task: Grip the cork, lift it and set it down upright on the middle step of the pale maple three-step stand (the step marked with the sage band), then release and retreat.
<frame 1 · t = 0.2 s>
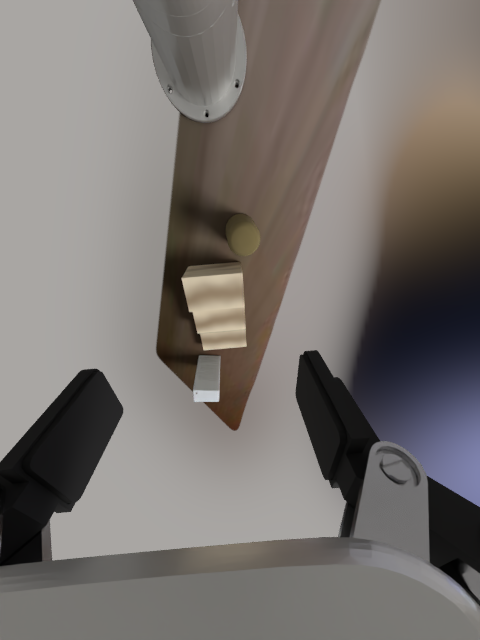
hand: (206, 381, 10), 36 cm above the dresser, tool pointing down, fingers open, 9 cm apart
step stand: (220, 307, 48), on the dresser
cork: (240, 230, 39), on the dresser
skincare box: (210, 360, 56), on the dresser
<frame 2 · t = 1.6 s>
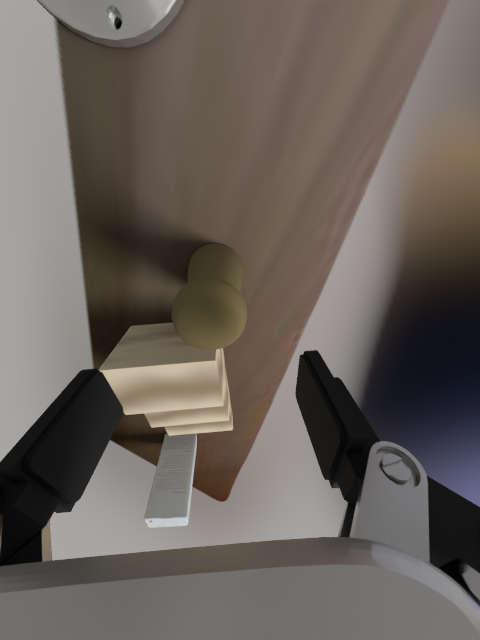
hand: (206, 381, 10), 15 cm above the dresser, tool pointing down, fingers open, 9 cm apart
step stand: (191, 379, 31), on the dresser
cork: (216, 271, 22), on the dresser
skincare box: (182, 437, 39), on the dresser
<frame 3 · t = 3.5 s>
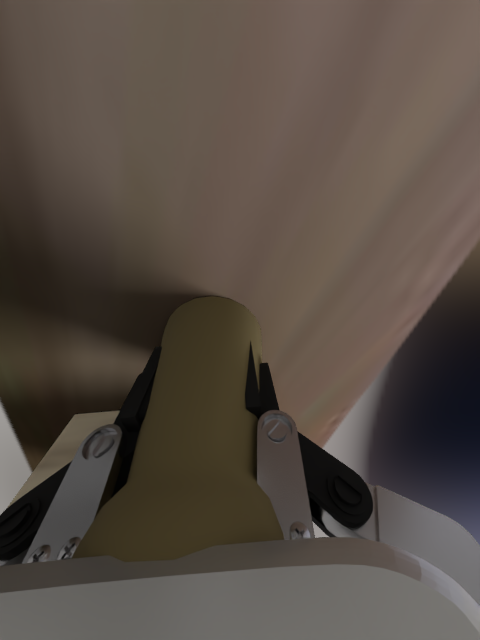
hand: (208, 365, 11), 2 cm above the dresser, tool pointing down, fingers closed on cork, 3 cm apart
step stand: (176, 470, 21), on the dresser
cork: (214, 338, 13), on the dresser, touching gripper
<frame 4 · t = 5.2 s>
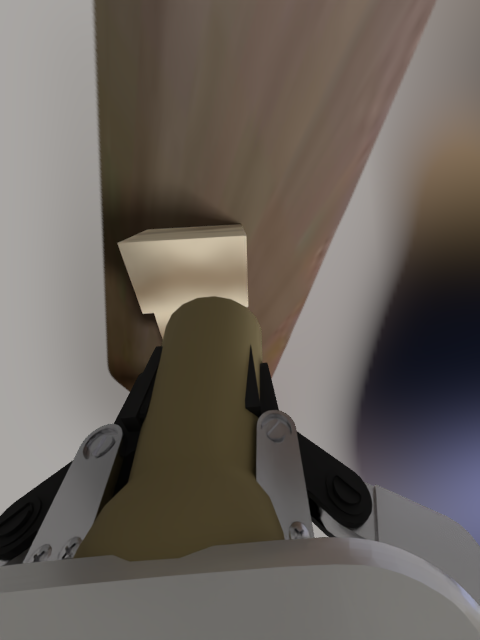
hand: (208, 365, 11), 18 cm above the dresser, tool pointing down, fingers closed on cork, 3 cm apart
step stand: (206, 305, 29), on the dresser
cork: (214, 338, 13), point 16 cm above the dresser, touching gripper
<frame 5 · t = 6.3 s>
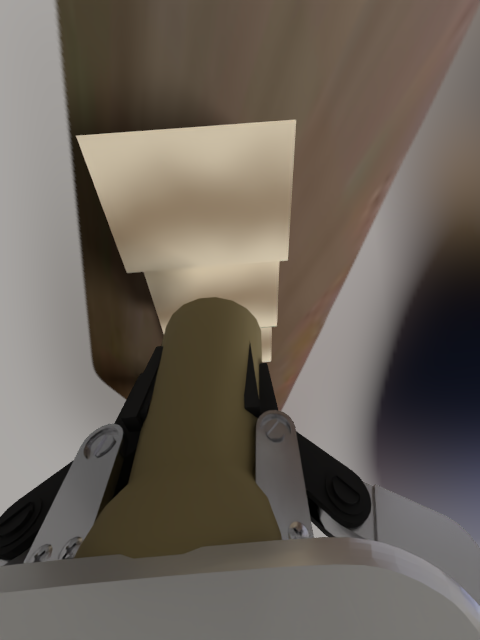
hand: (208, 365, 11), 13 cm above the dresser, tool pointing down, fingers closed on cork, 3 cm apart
step stand: (218, 278, 22), on the dresser
cork: (214, 338, 13), point 11 cm above the dresser, touching gripper
when the fingers open (9 cm above the dresser, at t = 7.2 s): cork drops 1 cm, resting on step stand.
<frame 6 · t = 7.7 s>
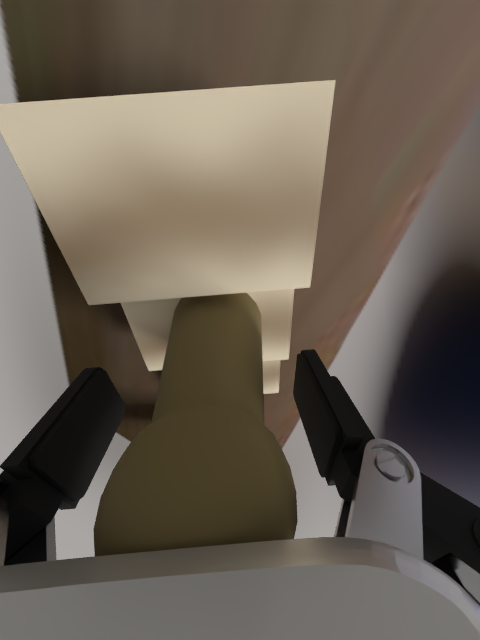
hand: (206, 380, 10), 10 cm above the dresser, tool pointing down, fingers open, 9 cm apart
step stand: (216, 297, 18), on the dresser
cork: (218, 323, 14), point 5 cm above the dresser, touching step stand
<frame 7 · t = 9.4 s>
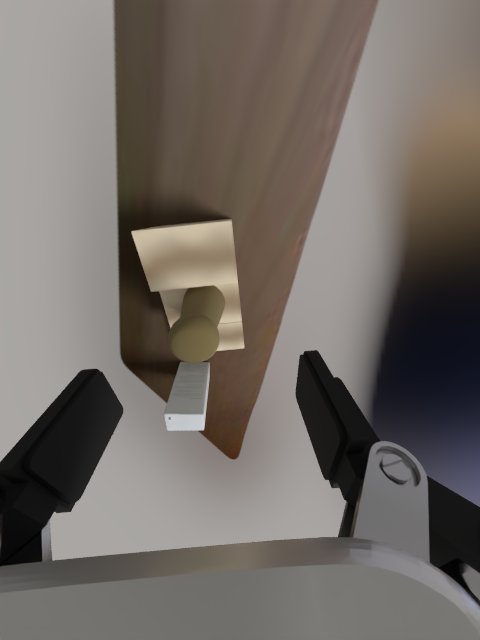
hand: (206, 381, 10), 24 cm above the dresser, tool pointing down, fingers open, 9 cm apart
step stand: (205, 292, 33), on the dresser
cork: (204, 302, 29), point 5 cm above the dresser, touching step stand
skincare box: (195, 368, 41), on the dresser
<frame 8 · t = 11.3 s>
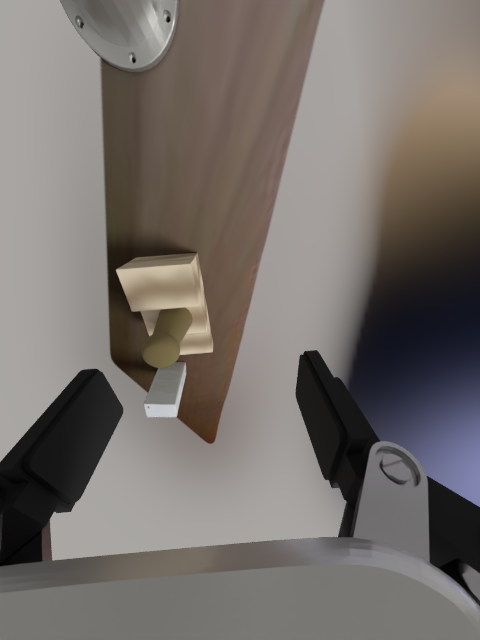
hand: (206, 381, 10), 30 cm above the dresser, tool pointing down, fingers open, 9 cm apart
step stand: (179, 307, 41), on the dresser
cork: (176, 317, 37), point 5 cm above the dresser, touching step stand
skincare box: (174, 367, 50), on the dresser
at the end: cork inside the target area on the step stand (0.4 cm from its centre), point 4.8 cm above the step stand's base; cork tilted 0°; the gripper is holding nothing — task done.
